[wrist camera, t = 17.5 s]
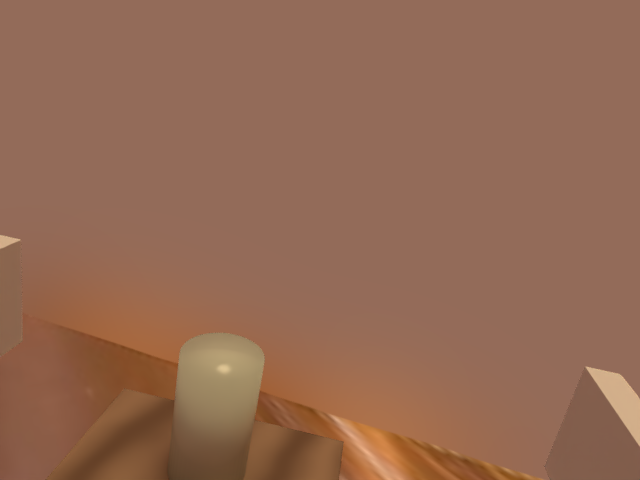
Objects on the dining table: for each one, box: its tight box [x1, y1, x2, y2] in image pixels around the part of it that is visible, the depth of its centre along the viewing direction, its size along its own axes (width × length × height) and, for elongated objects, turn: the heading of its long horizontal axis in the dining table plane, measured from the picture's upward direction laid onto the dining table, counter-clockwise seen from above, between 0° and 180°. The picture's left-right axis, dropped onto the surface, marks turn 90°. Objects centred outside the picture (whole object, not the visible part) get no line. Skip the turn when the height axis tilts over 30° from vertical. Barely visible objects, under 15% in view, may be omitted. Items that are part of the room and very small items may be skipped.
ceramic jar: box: [167, 333, 265, 480], centre depth 40 cm, size 6×6×11 cm
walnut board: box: [46, 388, 343, 480], centre depth 42 cm, size 22×14×2 cm, turn 82°
